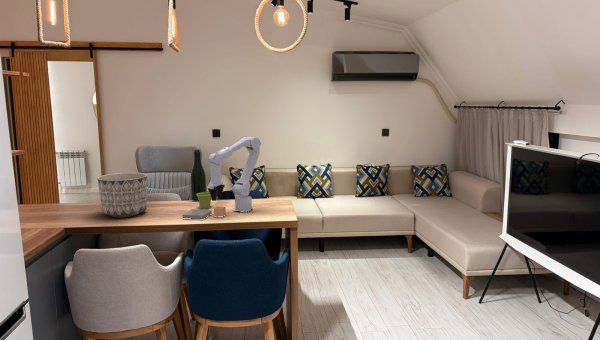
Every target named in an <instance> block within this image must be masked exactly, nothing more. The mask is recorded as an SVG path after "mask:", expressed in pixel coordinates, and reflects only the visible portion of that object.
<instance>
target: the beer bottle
mask: <svg viewBox="0 0 600 340" xmlns="http://www.w3.org/2000/svg"><path fill="white" fill-rule="evenodd" d="M201 154H202V152H201V149H198V148H195V149H194V150H193V164H192V165H193V166H192V168H191V171H190V177H189V183H190V184H189V185H190V188H189V189H190V200H191V201H192V202H199V200H198V197H197V195H196V194H197V193H202V192H208V185H207V174H206V171H205V168H204V166H203V163H202V157H201V156H202V155H201Z"/></svg>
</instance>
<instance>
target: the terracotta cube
mask: <svg viewBox="0 0 600 340" xmlns="http://www.w3.org/2000/svg"><path fill="white" fill-rule="evenodd" d="M226 211H227V210H226V206H216V207H214V208H213V217H214V216H224V215H225V214H226ZM224 217H225V216H224Z"/></svg>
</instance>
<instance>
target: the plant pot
mask: <svg viewBox="0 0 600 340" xmlns="http://www.w3.org/2000/svg"><path fill="white" fill-rule="evenodd" d="M196 195H197V197H198V200H199V201H198V205H199V206H198V207H199V208H200V209H201V208H202V209H201V210H206V209H210V208H211V203H212V198H211V195H210V192H209V191H207V192H202V193H197V194H196Z"/></svg>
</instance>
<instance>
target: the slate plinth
mask: <svg viewBox="0 0 600 340" xmlns="http://www.w3.org/2000/svg"><path fill="white" fill-rule="evenodd" d="M212 211H213V210H212V209H195V208H194V209H192V208H191V209H190V210H188V211H186V212H185V213H183V214H182V219H183V218H191V219H204V218H206V217H207V216H209V215H210V214H213V213H212ZM210 216H211V215H210ZM210 216H209V217H210ZM207 218H208V217H207ZM207 218H206V219H207Z"/></svg>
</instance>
